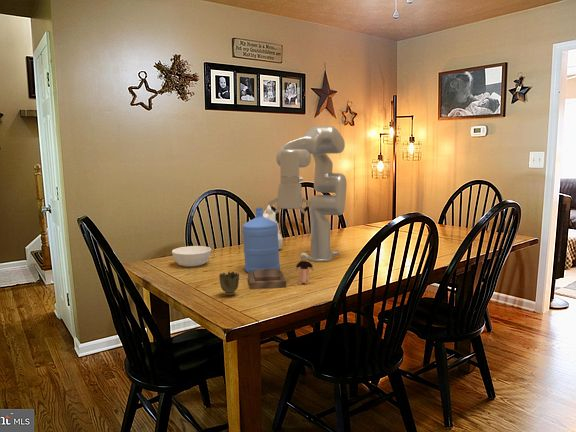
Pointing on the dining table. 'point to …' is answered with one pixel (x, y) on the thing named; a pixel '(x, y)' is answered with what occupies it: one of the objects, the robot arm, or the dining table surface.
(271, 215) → the decorative rooster
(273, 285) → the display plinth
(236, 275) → the cup
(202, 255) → the bowl
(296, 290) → the dining table surface
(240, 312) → the dining table surface
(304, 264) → the grandmother figurine
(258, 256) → the water jug
